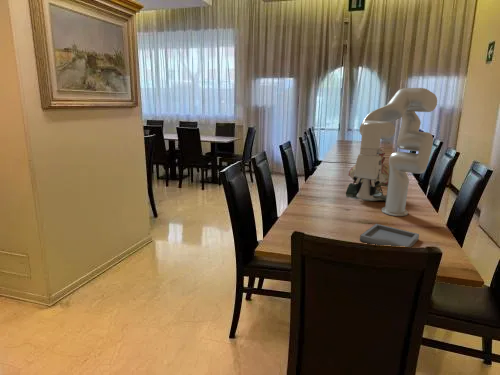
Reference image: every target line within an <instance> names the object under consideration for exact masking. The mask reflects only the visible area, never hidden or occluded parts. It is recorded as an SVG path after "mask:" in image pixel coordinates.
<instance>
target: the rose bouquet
mask: <svg viewBox="0 0 500 375" xmlns="http://www.w3.org/2000/svg"><path fill="white" fill-rule="evenodd" d="M380 150H381V151H383V150H384V149H383V148H382V147H380ZM385 155H386V153H385V152H384V151H383V152H382V154H379V156H381V174H382V175H383V177H384V178H385V180H384V181H382V182H381V183H379V184H378V185H377V186H376V191H375V194H374V195H373V199H368V200H367V199H362V200H363V201H368V202H375V201H384V202H385V203H386V197H387V195H384V193H383V189H382V187H385V188H388V180H389V164H385V163H384V161H385V159H386V157H385ZM355 166H356V163H355V165H353V167H351V168H350V170H349V171H348V174H347V176H348V177H350V178H351V180H352V181H353V182H350V183H349V184H348V186H347V187H346V191H345V197H346V198H349V199H353V200H356V199H357V200H358V199H359V200H361V199H360V198H358V197H357V194H358V193H357V190H356V186H357V184H356V182H355V180H354V179H353V178H352V177H351V175H350V174H351V173H352V172H353V171H354V170H355ZM363 180H364V178H362V180H361V183H363ZM376 180H377V181H378V180H380V178H377V179H376ZM370 186H372V183H371V180H370Z"/></svg>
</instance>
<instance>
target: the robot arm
mask: <svg viewBox="0 0 500 375" xmlns="http://www.w3.org/2000/svg"><path fill="white" fill-rule="evenodd" d="M437 105H438V97H437V95H436V94H435V93H434V92H433V91H431V90H429V89H428V88H424V87H404V88H401V89H398V90H397V91H396V92H395V94H394V95H393V96H392V97H391V99H390V100H389V101H388V103H387V104H386V105H384V106H381V107H378V108H377V109H374V110H372V111H371V112H370V113H368V114H366V116H365V118H364V119H363V120H362V122H361V123H360V126H359V134H360V136H361V140H360V150H359V154H358V156H357V158H356V162H355V164H356V166H355V165H354V166H355V170H354V171H353V172H352V173H351V174H350V175H351V177H352V178H353V179H354V180H355V182H356V183H355V184H357V186H356V190H357V193H358V192H359V190H360V188H361V185H362V183H361V180H362V178H364V179H370V180H371V183H372V186H371V188H370V196H372V195H374V194H375V191H376V186H377V185H378V184H379V183H381V182H382V181H384V180H385V178H384V177H383V175H382V174H381V156H379V154H382V152H384V151H383V150H382V151H381V150H380V148H381V140H389V139H391V138H392V137H393V136H394V134H395V131H396V127H395V124H394V123H393V121H397V120H399V119H401V125H400V129H399V132H398V133H399V134H398V137H397V142H396V146H397V148H399V149H400V150H403V151H394V152H393V153H391V154H390V155H389V158H388V166H389V180H388V187H387V189H386V202H385V205H384V206H383V207H381V212H382V213H383V214H386V215H388V216H389V215H390V216H393V217H395V216H396V217H404V216H405V217H406V216H408V214H409V211H408V210H407V209H406V207H407V198H408V192H409V191H408V190H409V184H410V183H409V182H410V180H409V176H408V173H409V174H410V173H411V174H418V175H419V174H424V173H425V172H426V170H427V167H428V163H429V161H430V156H431V154H432V148H433V143H434V138H433V134H431V133H430V132H425V131H420V127H421V123H422V122H421V119H420V117H419V116H418V114H417V112H418V113H420V112H421V113H431V112H434V111H435V109H436V108H437ZM406 151H411V152H406ZM412 151H413V152H412ZM415 152H418V153H415ZM351 177H350V178H351ZM352 178H351V179H352ZM377 178H380V180H378V181H377V180H376V179H377ZM353 179H352V180H353ZM354 180H353V181H354Z"/></svg>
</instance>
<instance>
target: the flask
mask: <svg viewBox="0 0 500 375" xmlns="http://www.w3.org/2000/svg"><path fill="white" fill-rule="evenodd" d="M370 188H371V186H370V179H364V180H363V183H362V185H361V188H360V190H359V192H358V194H357V197H358V198H360V199H359V200H363V199H367V200H368V199H373V195H372V196H370Z"/></svg>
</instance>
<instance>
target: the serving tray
mask: <svg viewBox="0 0 500 375" xmlns="http://www.w3.org/2000/svg"><path fill="white" fill-rule="evenodd" d="M419 238H420V233H416V232H412V231H409V230H408V231H407V230H404V229H400V228H396V227H391V226H387V225H384V224H379V223H375V224H374V225H372V226H371V227H370V228H368V229H367V230H365V231H363V233H361V235H360V236H359V242H363V243H366V244H369V243H370V244H369V245H372V244H377V245H391V246H405V247H411V246H412V247H413V246H414V245H415V244H416V243H417V242H418V241H419ZM412 247H411V248H412Z"/></svg>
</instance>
